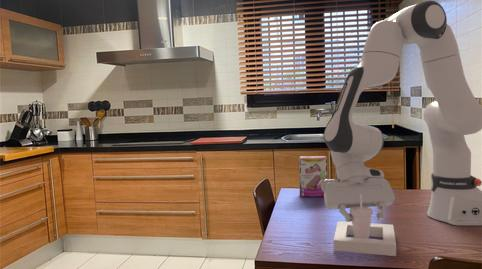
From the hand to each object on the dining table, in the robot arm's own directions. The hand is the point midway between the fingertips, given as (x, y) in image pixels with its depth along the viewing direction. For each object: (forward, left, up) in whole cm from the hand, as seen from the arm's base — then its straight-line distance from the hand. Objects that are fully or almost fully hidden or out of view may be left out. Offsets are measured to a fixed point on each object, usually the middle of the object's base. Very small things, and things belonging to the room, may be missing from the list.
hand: (365, 219), depth 112 cm
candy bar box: (+21, -48, -7) cm, 53 cm away
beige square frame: (0, -1, -7) cm, 7 cm away
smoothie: (+1, 0, -7) cm, 7 cm away
